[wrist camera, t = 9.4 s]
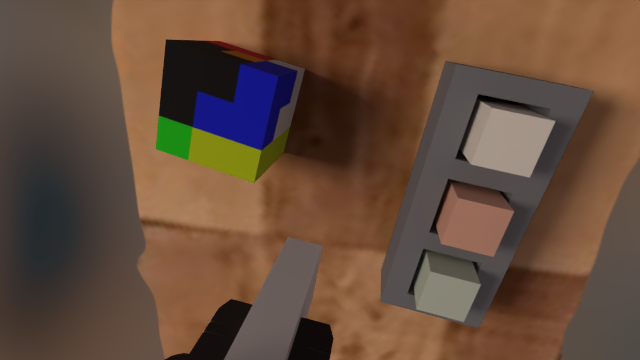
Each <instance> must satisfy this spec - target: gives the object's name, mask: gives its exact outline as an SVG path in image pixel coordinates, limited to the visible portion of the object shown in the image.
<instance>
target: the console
mask: <svg viewBox="0 0 640 360" xmlns="http://www.w3.org/2000/svg"><path fill="white" fill-rule="evenodd" d="M592 93H593V91H591V90H587V89H582V88H577V87H573V86H568V85H564V84H559V83H554V82H549V81H544V80H538V79H533V78H528V77H523V76H518V75H513V74H508V73H503V72H498V71H493V70H488V69H483V68H478V67H472V66H467V65H462V64H457V63H452V62H447V61H445V65H444V68H443V71H442V74H441V78H440V81H439V84H438V87H437V91H436V94H435V97H434V100H433V104H432V107H431V110H430V113H429V117H428V120H427V123H426V126H425V130H424V133H423V136H422V139H421V143H420V146H419V149H418V152H417V156H416V159H415V162H414V166H413V169H412V172H411V175H410V179H409V182H408V185H407V188H406V192H405V195H404V198H403V201H402V205H401V208H400V211H399V214H398V218H397V221H396V224H395V227H394V231H393V234H392V237H391V240H390V244H389V247H388V250H387V253H386V257H385V260H384V263H383V266H382V270H381V302H384V303H388V304H392V305H395V306H399V307H403V308H406V309H410V310H414V311H417V312H421V313H425V314H428V315H432V316H436V317H439V318H443V319H447V320H451V321H454V322H458V323H462V324H465V325H469V326H473V327H476V328H479V327H480V325H481V323H482V321H483V319H484V317H485V315H486V313H487V310H488V308H489V306H490V304H491V302H492V300H493V298H494V296H495V294H496V292H497V290H498V288H499V286H500V284H501V282H502V279H503V277H504V275H505V273H506V271H507V269H508V267H509V265H510V263H511V261H512V259H513V257H514V255H515V253H516V251H517V248H518V246H519V244H520V242H521V240H522V238H523V236H524V234H525V232H526V230H527V228H528V226H529V224H530V222H531V220H532V217H533V215H534V213H535V211H536V209H537V207H538V205H539V203H540V201H541V199H542V197H543V195H544V193H545V191H546V189H547V186H548V184H549V182H550V180H551V178H552V176H553V174H554V172H555V170H556V168H557V166H558V164H559V162H560V160H561V158H562V155H563V153H564V151H565V149H566V147H567V145H568V143H569V141H570V139H571V137H572V135H573V133H574V131H575V129H576V127H577V124H578V122H579V120H580V118H581V116H582V114H583V112H584V110H585V108H586V106H587V104H588V102H589V100H590V98H591V96H592ZM478 94H481V95H486V96H490V97H495V98H500V99H505V100H510V101H515V102H520V103H523V104H522V106H523V107H525V108H527V109H529V110H532V111H534V112H536V113H538V114H541V115H543V116H545V117H547V118H550V119H552V120H554V121H555V124H554V126H553V128H552V130H551V132H550V134H549V137H548V139H547V141H546V143H545V145H544V148H543V150H542V152H541V154H540V156H539V159H538V161H537V163H536V165H535V167H534V170H533V172H532V174H531V176H530V178H529V177H525V176H520V175H516V174H511V173H507V172H502V171H498V170H494V169H489V168H485V167H480V166H476V165H471V164H470V162H469V161H468V160H467V158H466V157H465V155H464V154H463V153H462V151H461V150H460V148H459V147H460V144H461V141H462V138H463V136H464V133H465V130H466V127H467V124H468V121H469V119H470V116H471V113H472V110H473V107H474V105H475V102H476V99H477V96H478ZM448 179H451V180H456V181H460V182H464V183H469V184H473V185H477V186H482V187H486V188H490V189H495V190H498V191H499V192H500V193H501V195H502V196H503V197H504V199H505V200H506V201H507V202H508V204H509V205H510V206H511V208H512V209H513V210H514V213H513V215H512V218H511V220H510V222H509V224H508V226H507V229H506V231H505V233H504V235H503V237H502V239H501V242H500V244H499V246H498V248H497V250H496V253H495V255H494V257H492V256H488V255H484V254H480V253H476V252H472V251H468V250H464V249H460V248H456V247H452V246H448V245H444V244H441V242H440V239H439V235H438V231H437V228H436V224H435V220H434V217H435V214H436V212H437V209H438V206H439V203H440V200H441V197H442V195H443V192H444V189H445V186H446V183H447V181H448ZM423 249H426V250H430V251H434V252H438V253H442V254H446V255H450V256H454V257H458V258H462V259H466V260H470V261H472V263H473V265H474V268H475V271H476V273H477V276H478V278H479V281H480V283H481V286H480V288H479V290H478V292H477V294H476V297H475V299H474V301H473V303H472V305H471V308H470V310H469V312H468V314H467V316H466V318H465V321H464V322H461V321H458V320H454V319H450V318H447V317H443V316H439V315H436V314H432V313H428V312H425V311H421V310H417V309H416V302H415V293H414V284H413V276H414V273H415V271H416V268H417V265H418V262H419V259H420V257H421V254H422V251H423Z"/></svg>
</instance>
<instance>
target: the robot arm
mask: <svg viewBox="0 0 640 360" xmlns="http://www.w3.org/2000/svg"><path fill="white" fill-rule="evenodd" d="M322 247H323V246H321V245H317V244H313V243H309V242H305V241H301V240H297V239H293V238H289V237H288V238H287V240H286V242H285V244H284V246H283V248H282V250H281V252H280V254H279V256H278V257H277V259H276V261H275V263H274V265H273V267H272V269H271V271H270V273H269V275H268V277H267V278H266V280H265V282H264V284H263V286H262V288H261V290H260V292H259V294H258V296H257V298H256V300H255V301H254V303H253V305H251V304H248V303H244V302H240V301H237V300H233V299H231V300H229V301H228V302H227V303H225V304H224V305H222V306H221V307H220V308H219V309H218V310H217V312H216V313H215V315H214V316H213V318H212V320H211V322H210V323H209V324H208V326H207V327H206V329H205V331H204V333H202V335H201V337H200V338H199V340H198V341H197V343H196V344H195V346H194V347H193V349H192V351H191V352H190V354H185V353H182V354H177V355H173V356H171V357H169V358H167V359H165V360H329V359H330V354H331V348H332V343H333V335H332V331H331V328H330V325H329V324H325V323H321V322H318V321H314V320H310V319H307V318H306V317H307V314H308V311H309V307H310V304H311V301H312V297H313V293H314V288H315V282H316V277H317V272H318V267H319V262H320V257H321V252H322Z"/></svg>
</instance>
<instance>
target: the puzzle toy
mask: <svg viewBox="0 0 640 360" xmlns="http://www.w3.org/2000/svg"><path fill="white" fill-rule="evenodd" d="M304 71H305V69H304V68H301V67H298V66H295V65H291V64H288V63H285V62H282V61H279V60H276V59H273V58H270V57H267V56H264V55H261V54H257V53H254V52H251V51H248V50H245V49H242V48H239V47H236V46H233V45H230V44H227V43H223V42H220V41H194V40H166V45H165V56H164V67H163V77H162V88H161V99H160V109H159V120H158V131H157V141H156V149H157V150H160V151H163V152H166V153H169V154H172V155H175V156H178V157H180V158H183V159H186V160H189V161H192V162H195V163H198V164H201V165H203V166H206V167H209V168H212V169H215V170H218V171H221V172H224V173H226V174H229V175H232V176H235V177H238V178H241V179H244V180H247V181H249V182H252V183H255V181H256V180H257V179H258V178H259V177H260V176H261V175H262V174H263V173H264V172H265V171H266V170H267V169H268V168H269V167H270V166H271V165H272V164H273V163H274V162H275V161H276V160H277V159H278V158H279V157H280V156H281V155H282V154H283V153H284V149H285V145H286V141H287V137H288V134H289V130H290V126H291V122H292V118H293V114H294V110H295V106H296V102H297V98H298V95H299V91H300V87H301V83H302V79H303V75H304Z"/></svg>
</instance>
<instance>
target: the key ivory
mask: <svg viewBox="0 0 640 360" xmlns="http://www.w3.org/2000/svg"><path fill="white" fill-rule="evenodd" d="M554 124H555V121H554V120H552V119H550V118H547V117H545V116H543V115H541V114H538V113H536V112H534V111H532V110H529V109H527V108H525V107H523V106H520V105H515V104H510V103H505V102H501V101H496V100H491V99H486V98H481V97H477V99H476V102H475V105H474V107H473V110H472V113H471V116H470V119H469V121H468V124H467V127H466V130H465V133H464V136H463V138H462V141H461V144H460V147H459V148H460V150H461V151H462V153H463V154H464V155H465V157H466V158H467V160H468V161H469V162H470V164H471V165H476V166H480V167H485V168H489V169H494V170H498V171H502V172H507V173H511V174H516V175H520V176H525V177H529V178H530V176H531V174H532V172H533V170H534V167H535V165H536V163H537V161H538V159H539V156H540V154H541V152H542V150H543V148H544V145H545V143H546V141H547V139H548V137H549V134H550V132H551V130H552V128H553V126H554Z"/></svg>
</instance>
